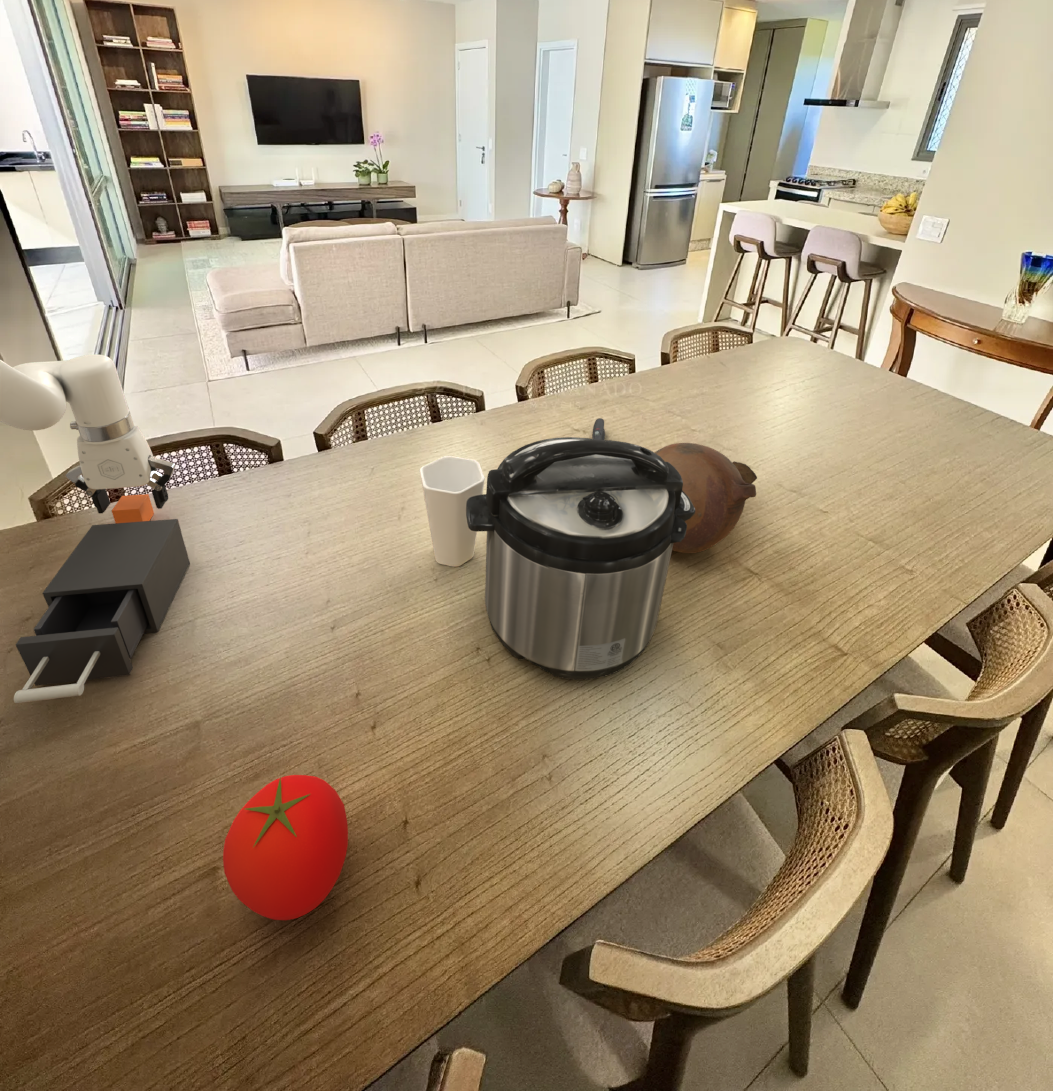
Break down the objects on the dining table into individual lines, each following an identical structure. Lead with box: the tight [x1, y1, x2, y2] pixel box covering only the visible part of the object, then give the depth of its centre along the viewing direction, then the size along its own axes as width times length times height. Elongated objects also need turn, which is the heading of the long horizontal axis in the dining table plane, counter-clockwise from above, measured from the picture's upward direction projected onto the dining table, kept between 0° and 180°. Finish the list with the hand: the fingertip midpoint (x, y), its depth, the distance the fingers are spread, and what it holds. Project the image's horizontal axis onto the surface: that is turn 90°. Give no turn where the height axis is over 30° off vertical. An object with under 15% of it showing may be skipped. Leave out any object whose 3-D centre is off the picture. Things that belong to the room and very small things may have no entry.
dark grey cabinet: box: [42, 518, 191, 635], centre depth 91 cm, size 15×13×10 cm
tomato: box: [222, 774, 349, 921], centre depth 58 cm, size 11×11×13 cm
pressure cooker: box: [466, 436, 695, 681], centre depth 87 cm, size 30×28×32 cm
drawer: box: [13, 589, 149, 704], centre depth 81 cm, size 20×11×8 cm, turn 10°
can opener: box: [591, 417, 606, 440], centre depth 138 cm, size 18×7×6 cm, turn 166°
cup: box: [419, 455, 486, 568], centre depth 102 cm, size 11×10×17 cm
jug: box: [653, 442, 758, 554], centre depth 111 cm, size 20×20×30 cm
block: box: [111, 493, 155, 524], centre depth 109 cm, size 4×4×4 cm
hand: (133, 506), depth 108 cm, fingers open, 9 cm apart
